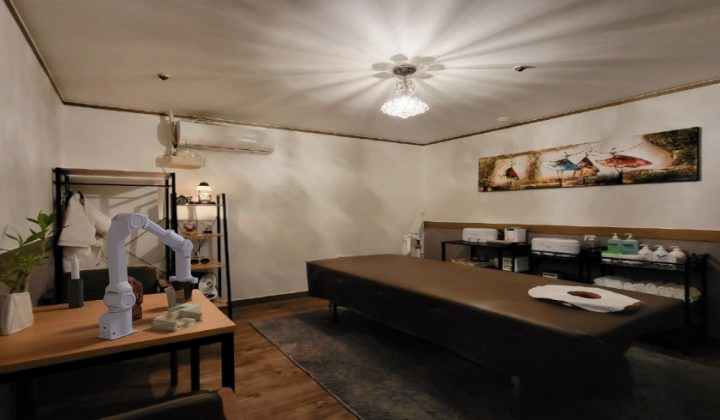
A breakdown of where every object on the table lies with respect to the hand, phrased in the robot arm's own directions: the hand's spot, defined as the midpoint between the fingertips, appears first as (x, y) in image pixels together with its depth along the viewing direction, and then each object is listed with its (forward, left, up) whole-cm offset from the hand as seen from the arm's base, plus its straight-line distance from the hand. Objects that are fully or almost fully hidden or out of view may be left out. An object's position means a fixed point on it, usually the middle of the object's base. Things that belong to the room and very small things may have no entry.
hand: (184, 298), depth 157 cm
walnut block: (0, 0, -1) cm, 1 cm away
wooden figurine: (-15, +16, -7) cm, 22 cm away
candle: (-9, +60, -7) cm, 60 cm away
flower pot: (+7, +14, -7) cm, 17 cm away
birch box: (-12, -9, -6) cm, 16 cm away
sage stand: (0, 0, -6) cm, 6 cm away
